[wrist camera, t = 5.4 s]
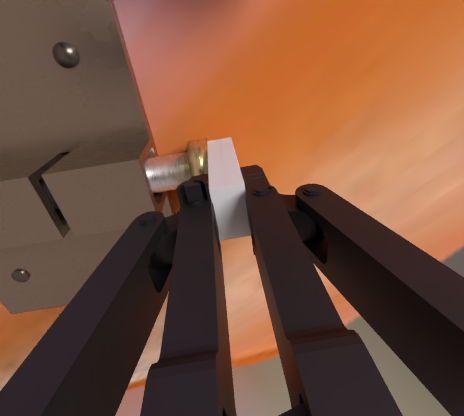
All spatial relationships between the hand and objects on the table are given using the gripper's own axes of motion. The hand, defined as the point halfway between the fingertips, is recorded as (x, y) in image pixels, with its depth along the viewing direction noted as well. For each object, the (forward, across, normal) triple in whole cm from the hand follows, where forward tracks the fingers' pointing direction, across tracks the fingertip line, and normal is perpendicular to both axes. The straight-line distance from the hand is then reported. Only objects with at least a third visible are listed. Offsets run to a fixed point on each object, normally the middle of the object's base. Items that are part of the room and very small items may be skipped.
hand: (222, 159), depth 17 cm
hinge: (+2, -12, 0) cm, 12 cm away
